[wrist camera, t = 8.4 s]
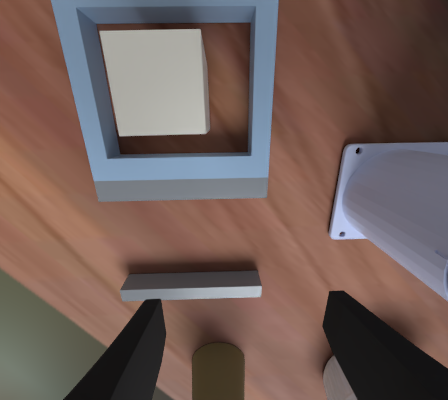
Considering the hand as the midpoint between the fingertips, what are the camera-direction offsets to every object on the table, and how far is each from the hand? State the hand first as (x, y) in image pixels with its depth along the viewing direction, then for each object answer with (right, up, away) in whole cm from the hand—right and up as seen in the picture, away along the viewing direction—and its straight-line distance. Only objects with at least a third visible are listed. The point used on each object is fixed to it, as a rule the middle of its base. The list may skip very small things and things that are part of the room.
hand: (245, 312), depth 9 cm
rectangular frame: (-4, +7, +7) cm, 11 cm away
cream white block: (-4, +12, +6) cm, 14 cm away
